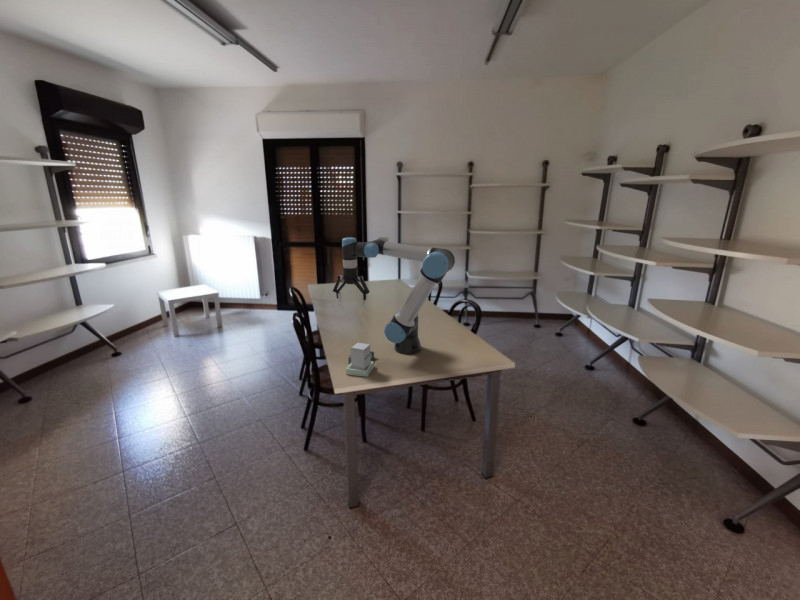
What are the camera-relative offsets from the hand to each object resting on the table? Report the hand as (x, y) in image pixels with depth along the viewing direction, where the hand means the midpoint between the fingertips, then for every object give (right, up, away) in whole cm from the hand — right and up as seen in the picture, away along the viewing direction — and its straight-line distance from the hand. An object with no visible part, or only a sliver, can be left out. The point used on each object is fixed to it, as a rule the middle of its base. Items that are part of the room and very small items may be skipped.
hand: (351, 305), depth 201 cm
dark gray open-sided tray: (+6, -30, -6) cm, 31 cm away
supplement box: (+7, -32, -17) cm, 37 cm away
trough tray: (+7, -33, -17) cm, 38 cm away
